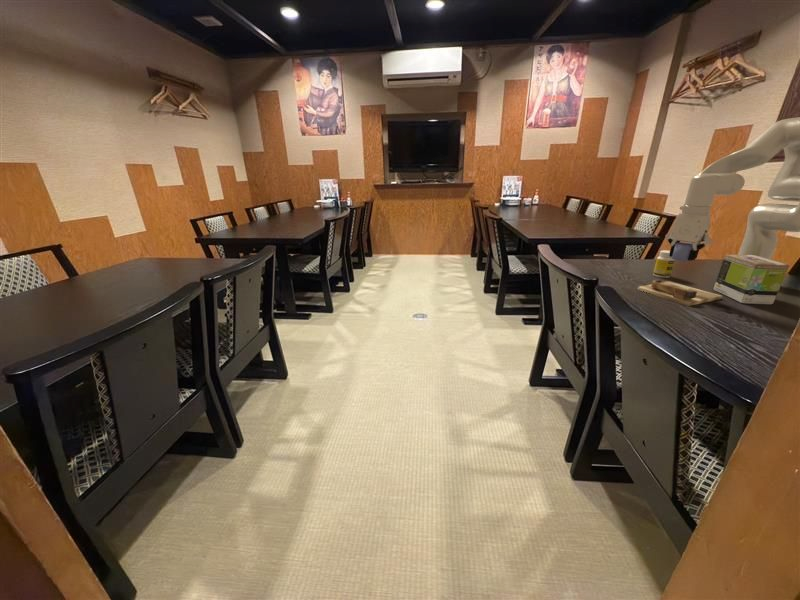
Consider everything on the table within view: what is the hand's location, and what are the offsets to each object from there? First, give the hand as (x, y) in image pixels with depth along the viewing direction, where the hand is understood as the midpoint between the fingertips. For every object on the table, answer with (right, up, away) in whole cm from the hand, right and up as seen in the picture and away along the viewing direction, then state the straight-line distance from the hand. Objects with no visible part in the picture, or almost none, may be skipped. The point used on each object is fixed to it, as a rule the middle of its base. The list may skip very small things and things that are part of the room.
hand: (682, 257), depth 125 cm
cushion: (0, -1, 0) cm, 1 cm away
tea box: (+19, -16, -4) cm, 25 cm away
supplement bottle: (+9, -6, +22) cm, 24 cm away
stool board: (-1, -14, +1) cm, 14 cm away
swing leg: (-6, -13, -2) cm, 15 cm away
